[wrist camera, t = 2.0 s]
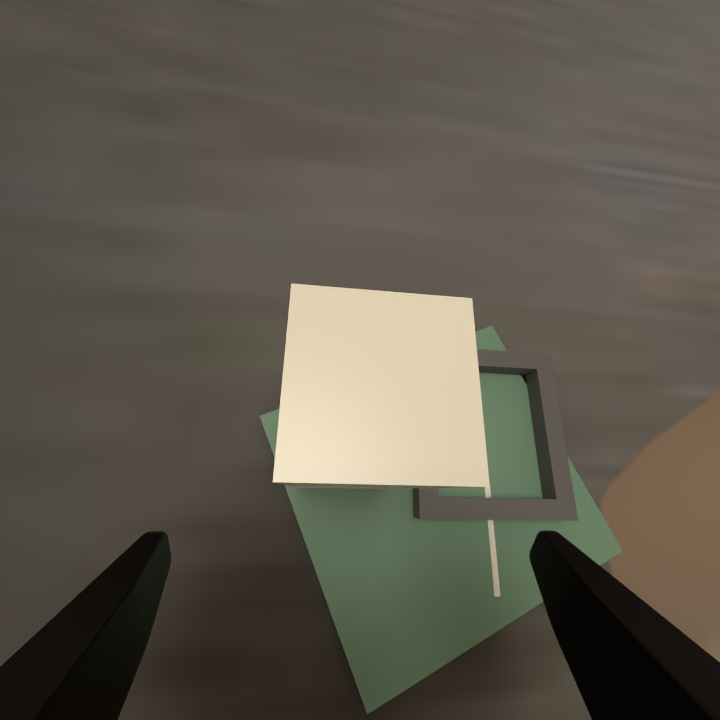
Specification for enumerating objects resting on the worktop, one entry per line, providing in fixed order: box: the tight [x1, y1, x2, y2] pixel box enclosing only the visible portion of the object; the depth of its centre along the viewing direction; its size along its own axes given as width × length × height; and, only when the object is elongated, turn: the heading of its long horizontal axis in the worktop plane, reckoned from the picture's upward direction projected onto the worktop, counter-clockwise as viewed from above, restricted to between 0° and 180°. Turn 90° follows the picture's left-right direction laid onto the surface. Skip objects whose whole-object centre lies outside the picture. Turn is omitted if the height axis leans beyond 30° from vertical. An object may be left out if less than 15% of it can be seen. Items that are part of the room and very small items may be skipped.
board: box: [260, 326, 622, 714], centre depth 19 cm, size 14×17×2 cm
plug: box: [273, 284, 490, 490], centre depth 14 cm, size 5×5×12 cm
